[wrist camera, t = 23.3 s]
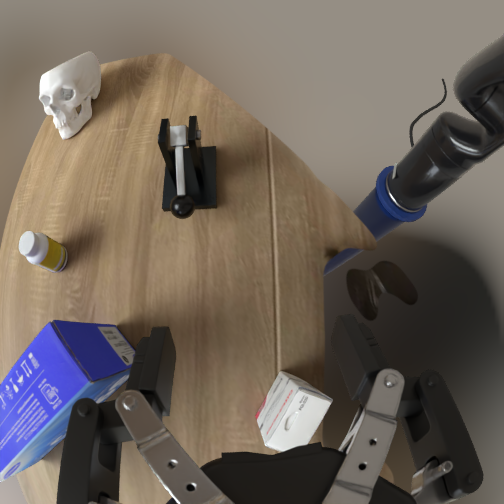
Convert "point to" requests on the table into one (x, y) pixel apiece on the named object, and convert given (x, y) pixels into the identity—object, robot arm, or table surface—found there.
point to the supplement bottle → (43, 251)
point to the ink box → (291, 412)
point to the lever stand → (189, 167)
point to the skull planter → (71, 92)
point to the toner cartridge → (57, 387)
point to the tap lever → (180, 174)
